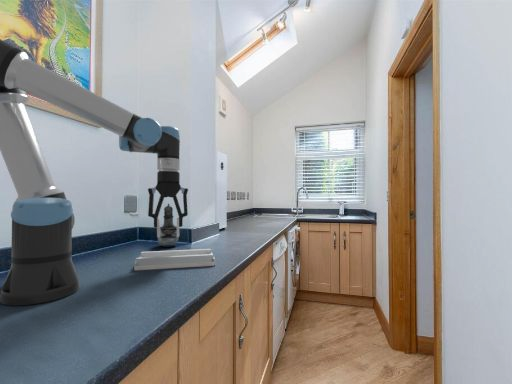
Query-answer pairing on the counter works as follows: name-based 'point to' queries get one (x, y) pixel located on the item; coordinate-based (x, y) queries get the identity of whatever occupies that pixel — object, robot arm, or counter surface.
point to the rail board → (174, 259)
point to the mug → (167, 240)
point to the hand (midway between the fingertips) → (168, 236)
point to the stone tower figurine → (168, 223)
